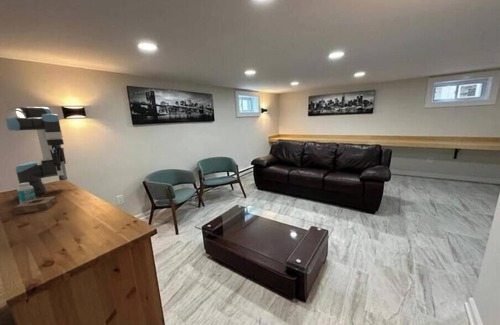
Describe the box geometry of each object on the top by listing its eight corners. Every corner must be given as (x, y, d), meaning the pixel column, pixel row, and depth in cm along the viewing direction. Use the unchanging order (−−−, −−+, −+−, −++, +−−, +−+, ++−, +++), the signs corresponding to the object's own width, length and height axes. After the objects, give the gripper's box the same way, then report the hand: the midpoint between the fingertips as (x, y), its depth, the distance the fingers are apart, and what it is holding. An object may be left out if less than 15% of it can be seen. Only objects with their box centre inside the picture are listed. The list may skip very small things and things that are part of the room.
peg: (60, 179, 137) (57, 161, 134) (68, 178, 138) (64, 161, 136) (58, 180, 133) (54, 162, 131) (66, 179, 135) (62, 162, 133)
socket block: (28, 205, 131) (27, 199, 131) (57, 201, 137) (55, 195, 136) (15, 214, 119) (13, 207, 118) (47, 209, 124) (45, 203, 124)
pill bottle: (28, 204, 133) (22, 184, 130) (16, 205, 133) (11, 185, 130) (39, 200, 140) (35, 181, 137) (29, 200, 140) (24, 181, 138)
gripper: (53, 138, 137) (60, 172, 141) (40, 140, 121) (48, 178, 126) (67, 137, 140) (74, 171, 144) (56, 139, 124) (64, 176, 129)
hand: (62, 174), depth 135 cm, fingers closed on peg, 4 cm apart
